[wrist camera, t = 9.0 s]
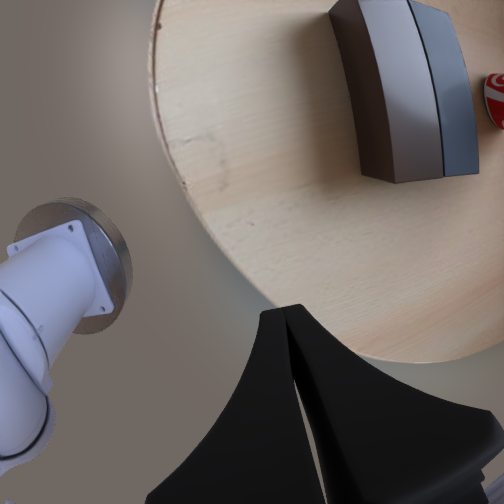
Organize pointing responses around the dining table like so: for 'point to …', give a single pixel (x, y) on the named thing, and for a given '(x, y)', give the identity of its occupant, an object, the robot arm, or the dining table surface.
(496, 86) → the beverage can
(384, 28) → the walnut bar
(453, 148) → the slate bar
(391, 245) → the dining table surface
